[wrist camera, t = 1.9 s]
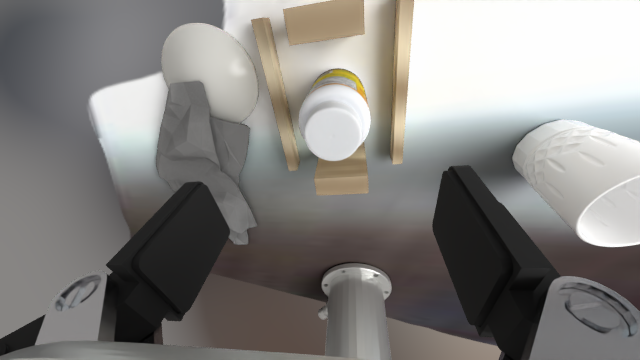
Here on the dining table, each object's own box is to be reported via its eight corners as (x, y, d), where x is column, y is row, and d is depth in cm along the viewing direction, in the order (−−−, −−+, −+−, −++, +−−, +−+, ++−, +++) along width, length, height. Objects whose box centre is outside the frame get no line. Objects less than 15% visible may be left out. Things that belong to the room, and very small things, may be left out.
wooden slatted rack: (398, 155, 27) (412, 191, 21) (292, 162, 29) (278, 197, 23) (408, -7, 19) (435, -19, 13) (258, 19, 21) (224, 19, 15)
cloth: (124, 66, 24) (105, 71, 22) (252, 91, 24) (243, 97, 22) (180, 229, 40) (172, 239, 38) (258, 245, 39) (253, 256, 38)
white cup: (489, 158, 26) (553, 220, 18) (563, 97, 22) (689, 143, 14) (535, 189, 28) (612, 259, 20) (612, 138, 24) (751, 201, 15)
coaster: (239, 140, 28) (238, 142, 28) (157, 93, 26) (154, 94, 25) (274, 64, 23) (272, 65, 22) (174, -3, 21) (171, -4, 20)
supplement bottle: (355, 127, 26) (358, 179, 17) (307, 114, 25) (286, 161, 17) (372, 74, 22) (387, 107, 14) (317, 60, 22) (298, 84, 14)
